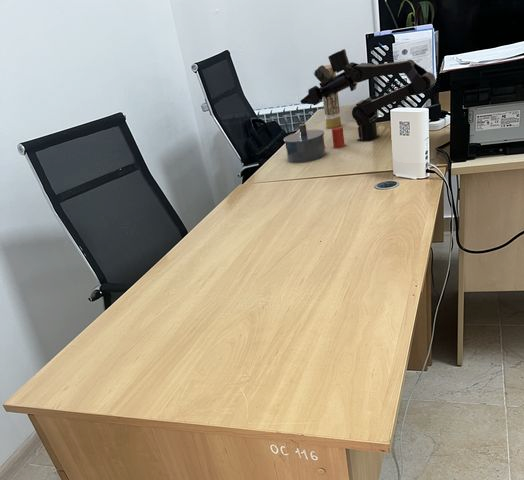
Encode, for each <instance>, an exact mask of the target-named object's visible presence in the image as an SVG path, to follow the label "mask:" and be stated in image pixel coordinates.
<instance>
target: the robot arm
mask: <svg viewBox="0 0 524 480" xmlns="http://www.w3.org/2000/svg"><path fill="white" fill-rule="evenodd" d="M327 58H328V61H329V65H331V67H332V69H333V71H334V73H335V72H336V76H335V75H334V76H331V75H330V73H329V72H328V70H327V69H326V68H325V67H324V66H325V65H323V64H322V65H320V66H318V68H316V69H315V70H314V72H313V75H314V77H315V78H316V79H317V80H318V81H319V82H318V84H319V86H317V85H314V86H312V87H310V88H308V89H307V95H306V96H304V97H303V98H302V99H301V100H300V104H302V105H313V106H316V105H319V104H320V103H323V97H325V98H328V97H329V96H331V95H333V94H336V93H338V94H339V92H342V91H344V90H345V89H348V88H349V89H350V92H353V91H355V90H356V89H357V86H358V84H359V83H361V82H364V81H367V80H370V79H373V78H377V77H385V76H393V75H400V74H404V75H405V76H406V77H407V79H408V81H409V83H408V84H406V85H404V86H402V87H399V88H397V89H395V90H393V91H390V92H389V93H387V94H384V95H382V96H380V97H378V98H375V99H372V96H368V97H367V98H365V99H362V100H359V101H358V102H357V103H355V106H354V107H353V108H352V110H351V116H352V118H353V120H355V122H356V124H357V126H358V127H357V133H358V138H357V141H358V142H359V141H360V142H362V141H364V142H365V141H368V142H369V141H373V140H375V139H377V138H378V137H380V134H378V128H377V121H376V120H377V118H378V115H379V114H378V113H377V112H376V111H379V110H380V109H382V108H385V107H387V106H390V105H392V104H394V103H397V102H398V101H400V100H403V99H405V98H408V97H412V96H417V95H421V94H426V93H427V92H428V91H430V90H431V89H433V87H434V86H435V84H436V77H435V75H434V73H432V72H430V71H427V70H426V69H425V68H423V67H422V66H420V65H419V64H417V63H416V61H414V59H407V60H402V61H401V60H400V61H394V62H393V61H392V62H386V63H379V64H374V63H369V62H361V63H358V62H357V63H356V62H353V61H351V62H350V61H349V58H348V56H347V50H346V48H343V49H341V50H339V51H336V52H334V53H332V54H331V55H329V56H327ZM342 71H343V72H342ZM340 72H341V73H340ZM338 73H339V74H338Z"/></svg>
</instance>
